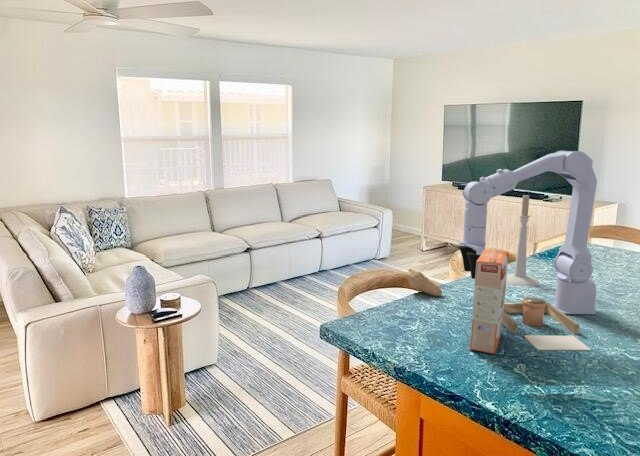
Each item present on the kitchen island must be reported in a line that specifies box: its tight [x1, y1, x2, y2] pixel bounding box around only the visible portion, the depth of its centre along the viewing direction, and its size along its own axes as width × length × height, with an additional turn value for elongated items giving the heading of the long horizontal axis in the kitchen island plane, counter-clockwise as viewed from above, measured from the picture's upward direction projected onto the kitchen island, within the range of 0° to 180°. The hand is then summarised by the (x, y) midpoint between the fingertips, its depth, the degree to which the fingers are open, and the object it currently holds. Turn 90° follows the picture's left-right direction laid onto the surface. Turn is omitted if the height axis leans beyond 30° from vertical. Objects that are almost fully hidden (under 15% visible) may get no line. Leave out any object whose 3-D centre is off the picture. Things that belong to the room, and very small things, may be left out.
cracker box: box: [469, 248, 509, 355], centre depth 112 cm, size 14×6×21 cm, turn 154°
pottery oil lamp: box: [405, 268, 443, 297], centre depth 149 cm, size 9×12×7 cm
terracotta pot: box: [521, 296, 547, 327], centre depth 125 cm, size 6×6×6 cm
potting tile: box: [523, 334, 592, 351], centre depth 113 cm, size 12×8×1 cm, turn 89°
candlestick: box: [506, 194, 540, 287], centre depth 159 cm, size 13×13×30 cm
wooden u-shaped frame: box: [502, 302, 580, 335], centre depth 126 cm, size 16×16×2 cm
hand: (472, 274), depth 133 cm, fingers open, 7 cm apart
